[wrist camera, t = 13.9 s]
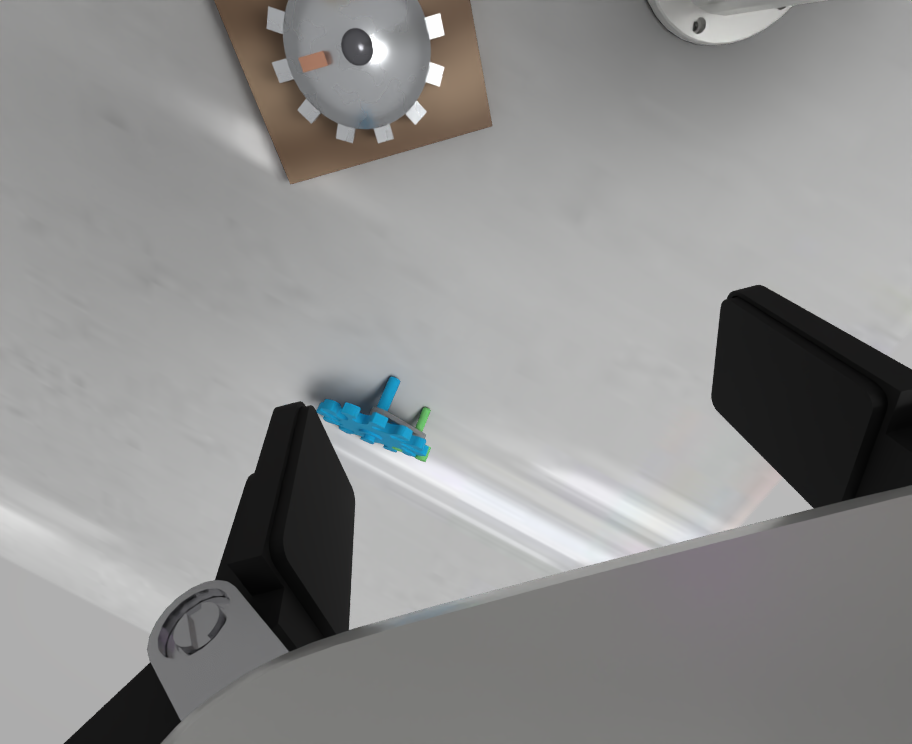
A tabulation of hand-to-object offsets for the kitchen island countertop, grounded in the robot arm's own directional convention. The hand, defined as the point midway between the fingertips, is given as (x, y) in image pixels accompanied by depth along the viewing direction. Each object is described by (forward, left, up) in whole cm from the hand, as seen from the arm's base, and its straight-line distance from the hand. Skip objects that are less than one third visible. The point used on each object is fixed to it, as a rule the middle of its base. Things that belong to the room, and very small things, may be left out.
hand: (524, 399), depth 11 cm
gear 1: (+2, -8, -26) cm, 28 cm away
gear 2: (+10, +18, -28) cm, 35 cm away
